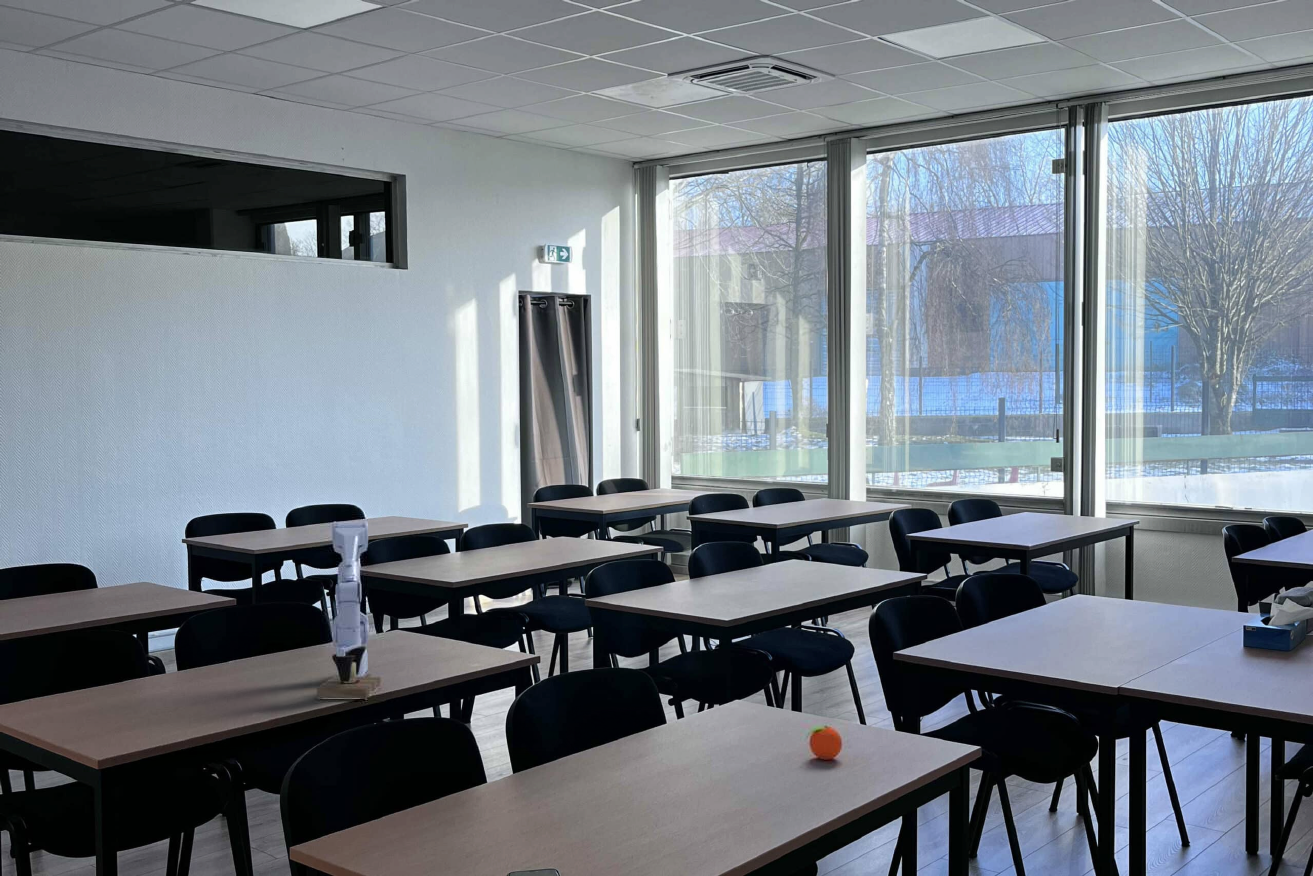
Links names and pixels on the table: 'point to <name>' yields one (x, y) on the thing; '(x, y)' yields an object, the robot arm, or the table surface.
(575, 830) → the table surface
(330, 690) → the board
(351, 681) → the peg
